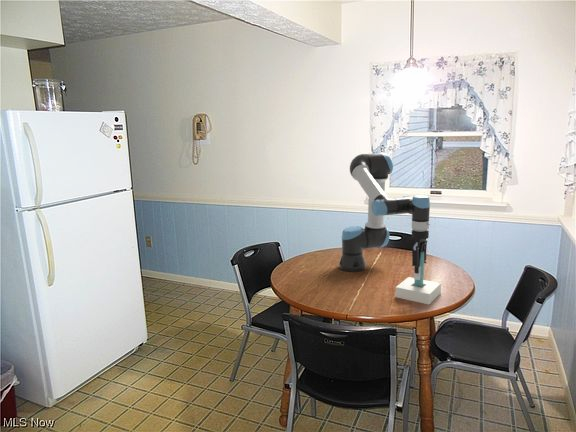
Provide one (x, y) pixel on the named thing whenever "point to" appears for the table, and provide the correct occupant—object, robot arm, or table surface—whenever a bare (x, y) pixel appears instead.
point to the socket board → (418, 291)
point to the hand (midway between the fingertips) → (418, 277)
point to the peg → (420, 282)
